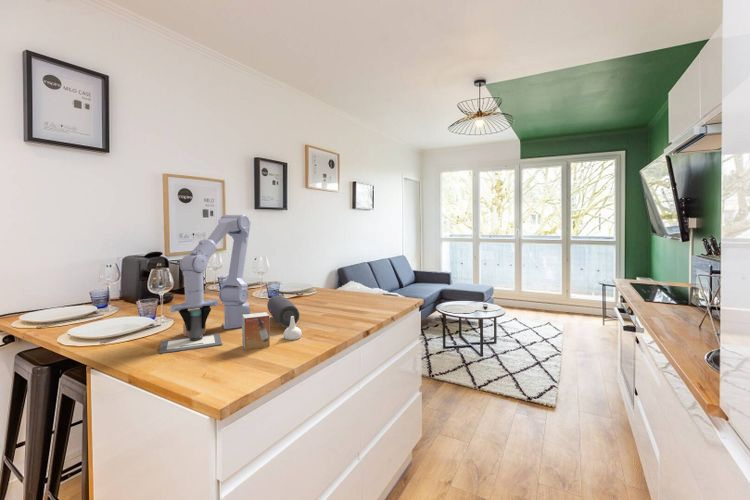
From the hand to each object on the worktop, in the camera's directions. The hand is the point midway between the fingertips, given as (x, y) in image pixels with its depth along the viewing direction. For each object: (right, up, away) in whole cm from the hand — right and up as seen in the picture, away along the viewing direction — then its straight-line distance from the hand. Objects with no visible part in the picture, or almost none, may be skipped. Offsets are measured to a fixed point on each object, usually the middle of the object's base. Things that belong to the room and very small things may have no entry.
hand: (195, 329), depth 119 cm
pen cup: (-5, -4, +8) cm, 10 cm away
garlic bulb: (+33, -4, +4) cm, 33 cm away
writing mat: (0, -4, -2) cm, 5 cm away
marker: (0, -3, 0) cm, 3 cm away
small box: (+22, -5, -5) cm, 23 cm away
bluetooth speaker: (+24, -3, +23) cm, 33 cm away
